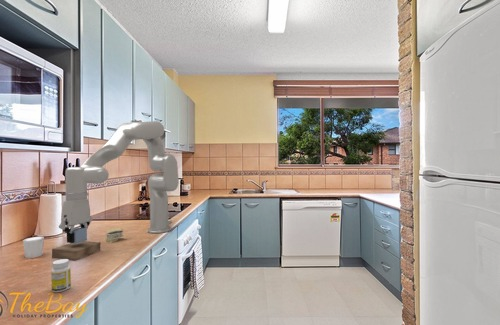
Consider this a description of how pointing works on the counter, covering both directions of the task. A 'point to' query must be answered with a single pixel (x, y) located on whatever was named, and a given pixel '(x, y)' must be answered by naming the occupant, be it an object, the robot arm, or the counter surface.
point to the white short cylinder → (33, 247)
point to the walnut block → (76, 250)
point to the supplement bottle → (61, 275)
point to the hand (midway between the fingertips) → (76, 240)
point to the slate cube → (80, 235)
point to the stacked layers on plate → (114, 234)
